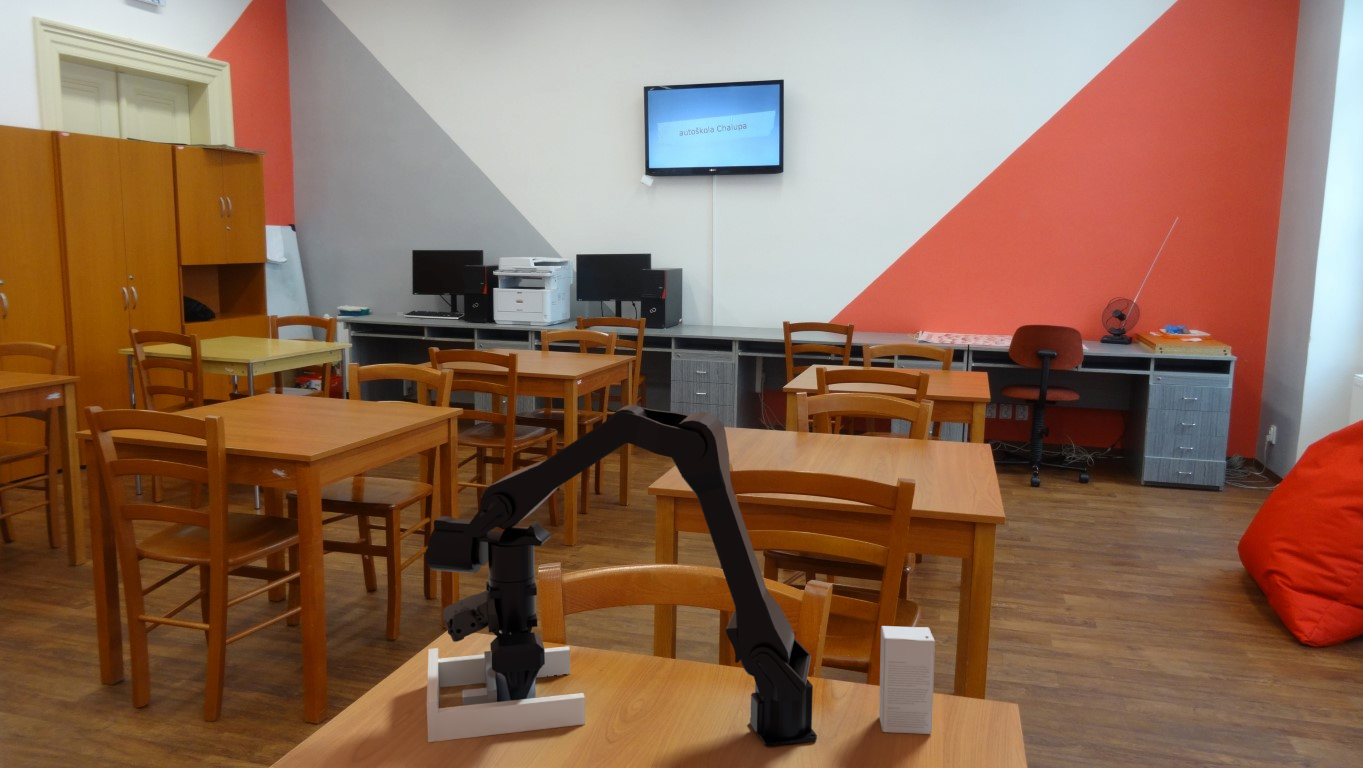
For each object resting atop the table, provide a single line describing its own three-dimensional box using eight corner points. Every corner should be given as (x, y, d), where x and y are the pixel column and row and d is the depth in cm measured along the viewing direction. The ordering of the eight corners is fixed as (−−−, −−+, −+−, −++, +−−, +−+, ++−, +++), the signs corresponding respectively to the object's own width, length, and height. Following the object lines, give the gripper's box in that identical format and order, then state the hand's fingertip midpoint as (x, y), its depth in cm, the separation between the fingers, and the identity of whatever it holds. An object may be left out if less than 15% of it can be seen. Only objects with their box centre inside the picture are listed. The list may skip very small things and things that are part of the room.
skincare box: (926, 718, 119) (930, 626, 117) (932, 735, 115) (936, 640, 113) (877, 715, 119) (880, 624, 118) (880, 732, 115) (884, 638, 113)
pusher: (492, 681, 127) (491, 650, 127) (497, 724, 116) (496, 690, 115) (462, 685, 126) (461, 653, 126) (463, 728, 115) (462, 693, 114)
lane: (569, 670, 132) (568, 635, 131) (585, 724, 117) (584, 685, 116) (430, 684, 127) (428, 648, 127) (428, 742, 112) (426, 702, 112)
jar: (534, 691, 126) (533, 649, 125) (538, 709, 121) (537, 666, 120) (494, 695, 124) (493, 653, 123) (496, 714, 119) (495, 670, 118)
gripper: (445, 556, 127) (449, 667, 129) (446, 607, 109) (450, 735, 111) (530, 550, 130) (532, 659, 132) (544, 599, 112) (546, 724, 114)
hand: (514, 692), depth 122 cm, fingers open, 9 cm apart
